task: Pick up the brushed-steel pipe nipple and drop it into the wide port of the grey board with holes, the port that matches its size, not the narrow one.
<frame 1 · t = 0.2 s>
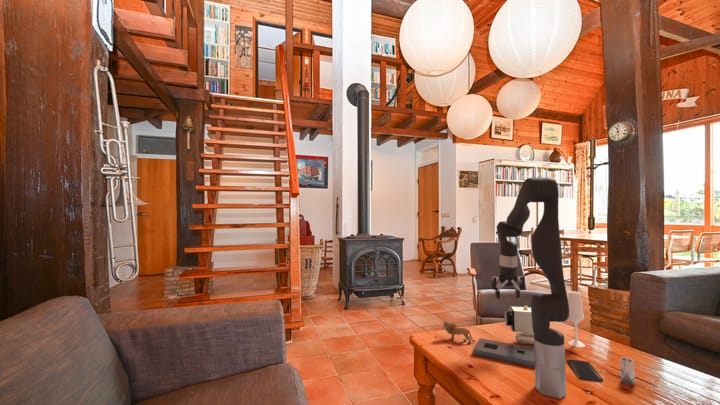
hand: (507, 298, 147), 22 cm above the table, tool pointing down, fingers open, 8 cm apart
pipe nipple: (627, 382, 115), on the table
champagne flute: (576, 344, 148), on the table
grey board with holes: (505, 354, 138), on the table
lion figurine: (457, 341, 154), on the table
phone: (583, 372, 124), on the table
security camera: (526, 343, 150), on the table
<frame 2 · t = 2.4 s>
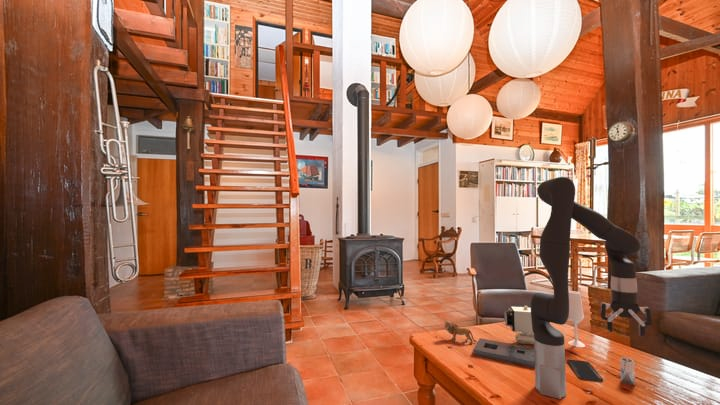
hand: (625, 333, 116), 17 cm above the table, tool pointing down, fingers open, 8 cm apart
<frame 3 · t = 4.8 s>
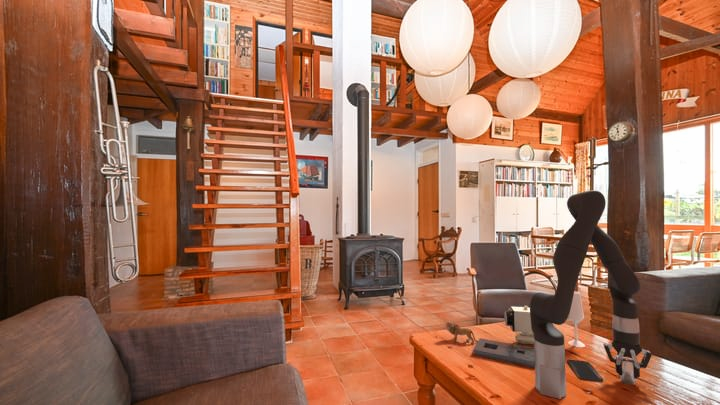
hand: (627, 375, 115), 2 cm above the table, tool pointing down, fingers closed on pipe nipple, 4 cm apart
pipe nipple: (627, 382, 115), on the table, touching gripper
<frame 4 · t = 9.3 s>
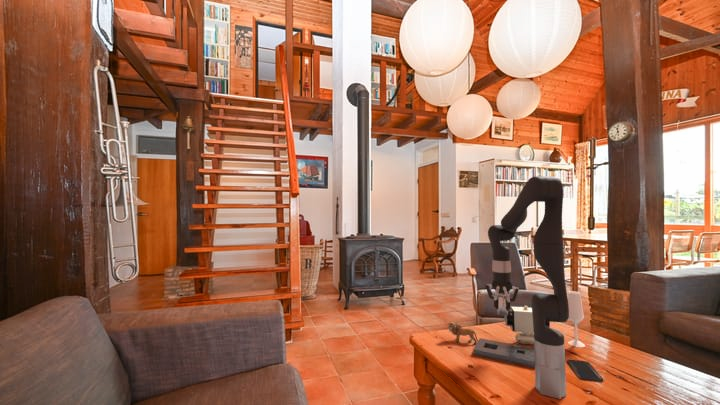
hand: (502, 309, 140), 20 cm above the table, tool pointing down, fingers closed on pipe nipple, 4 cm apart
pipe nipple: (502, 314, 140), point 17 cm above the table, touching gripper
lion figurine: (463, 342, 153), on the table
everything else where it was.
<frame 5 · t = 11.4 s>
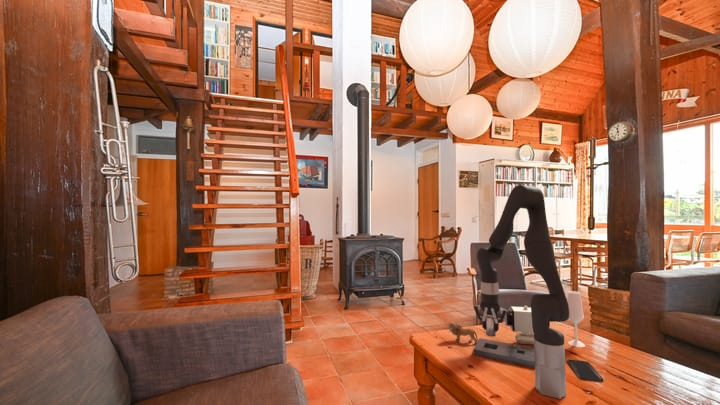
hand: (490, 330, 142), 10 cm above the table, tool pointing down, fingers closed on pipe nipple, 4 cm apart
pipe nipple: (490, 334, 142), point 7 cm above the table, touching gripper
everything else where it was.
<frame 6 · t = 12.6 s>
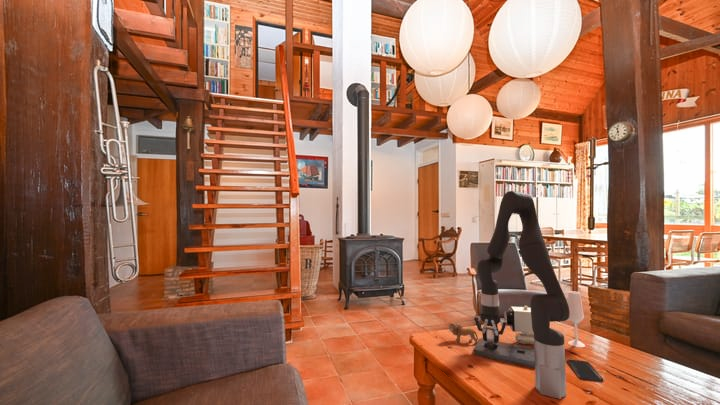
hand: (490, 341, 142), 4 cm above the table, tool pointing down, fingers closed on pipe nipple, 4 cm apart
pipe nipple: (491, 346, 142), point 2 cm above the table, touching gripper
everything else where it was.
when the fingers open (4 cm above the table, at t = 13.1 s): pipe nipple drops 1 cm, resting in grey board with holes.
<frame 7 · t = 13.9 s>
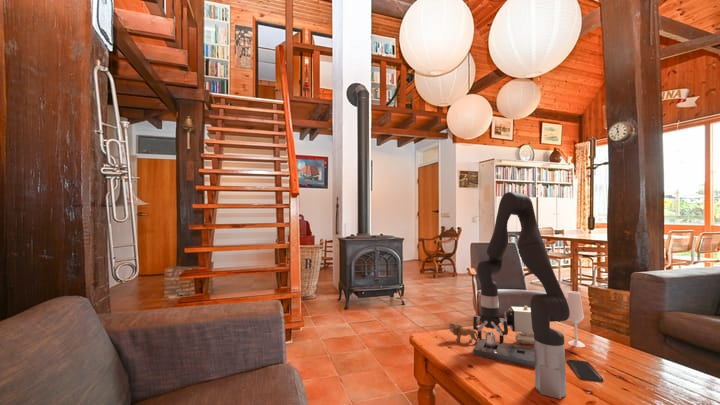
hand: (490, 341, 142), 5 cm above the table, tool pointing down, fingers open, 8 cm apart
pipe nipple: (490, 351, 142), resting in grey board with holes
everything else where it was.
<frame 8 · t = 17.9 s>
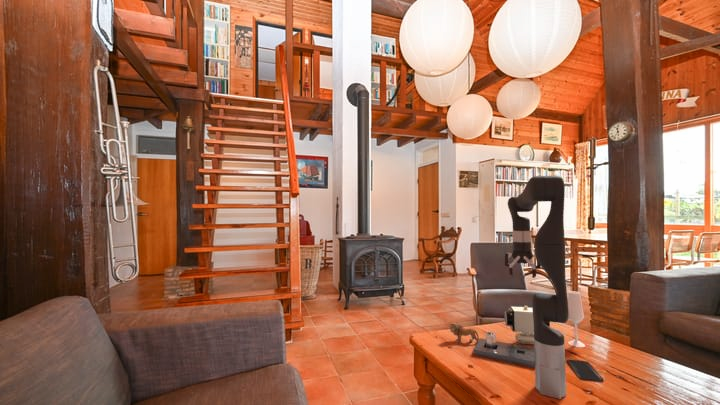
hand: (522, 276, 143), 33 cm above the table, tool pointing down, fingers open, 8 cm apart
lion figurine: (464, 342, 153), on the table, touching grey board with holes
everything else where it was.
at the end: pipe nipple 0.2 cm from the target spot on the grey board with holes, point 0.0 cm above the grey board with holes's base; pipe nipple tilted 0°; the gripper is holding nothing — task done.
